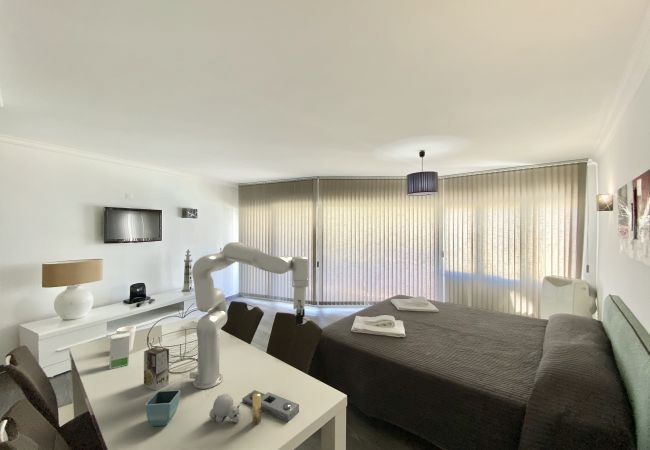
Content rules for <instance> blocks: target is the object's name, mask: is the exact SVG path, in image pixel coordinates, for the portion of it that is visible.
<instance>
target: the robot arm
mask: <svg viewBox="0 0 650 450" xmlns="http://www.w3.org/2000/svg"><path fill="white" fill-rule="evenodd" d="M235 263H240V264H244V265H248V266H252V267H254V268H257V269H260V270H262V271H263V272H268V273H273V274H277V275H284V274H286V273H287V272H290V271H292V272H291V273H292V275H291V284H292V285H291V286H292V288H293V310H296V311H295V324H296V325H303V323H304V318H305V314H306V313H305V307H306V298H307V293H306V292H307V289H306V288H308V287H309V259H308V257H307V256H304V255H303V256H301V255H297V256H291V255H283V256H277V255H273V254H268V253H266V252H263V251H262V250H261V249H260V248H258V247H254V246H249V245H245V244H244V243H243V242H240V241H233V242H228V243H227V244H225V245H224V247H223V248H222V250H221V251H219V252H217V253H211V254H206V255H203V256H201V257H199V258H197V260H195V262H194V263H193V266H192V269H191V275H192V280H193V287H194V295H195V303H196V307H197V309H198V311H199V312H201V313H205V314H204V315H203V316H201V317H200V318H199V319H198V320H197V322H196V325H195V331H196V337H197V371H190V372H189V379H194V380H193V387H195V388H197V389H200V390H205V389H206V390H207V389H211V388H214V387H216V386H218V385H219V384H221V383H222V382H223V380H224V379H223V375H222V374H221V373H220V355H221V354H220V347H221V346H220V337H219V330H221V328H222V327H224V326H225V325H226V323H227V321H228V308H227V303H226V302H227V300H226V297H225V296H226V295H225V293H224V292H223V290H222V289H221V288H218V287H215V285H214V279H213V277H212V275H211V274H212V273H214V272H218V271H221V270H224V269H226V268H228V267H230V266H232V265H233V264H235Z"/></svg>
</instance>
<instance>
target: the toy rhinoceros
mask: <svg viewBox="0 0 650 450" xmlns="http://www.w3.org/2000/svg"><path fill="white" fill-rule="evenodd" d="M240 406H241V405H240V404H238V405H234V398H233V396H232V395H230V394H228V393H222V394H220V395H218V396H217V397H216V398H215V400H214V402H213V405H212V409H210V411H209V414H208V415H209V417H210V418H213V419H214V418H215V422H216V423H222V422H223V420H224V418H226V417H227V418H228V419H229V420H232V422H233V423H238V422H239V421H240V420H241V418H242V414H240V409H239V408H240Z"/></svg>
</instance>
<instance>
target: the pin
mask: <svg viewBox="0 0 650 450" xmlns="http://www.w3.org/2000/svg"><path fill="white" fill-rule="evenodd" d="M260 392H261V391H258V392H256V393H254V394H253V406H252V420H251V421H252V425H255V426H257V425H259V424H261V423H262V420H261V419H262V416H261V415H262V410H261V393H262V392H261V393H260Z"/></svg>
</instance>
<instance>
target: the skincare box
mask: <svg viewBox="0 0 650 450" xmlns="http://www.w3.org/2000/svg"><path fill="white" fill-rule="evenodd" d="M109 343H110V347H109V362H108V363H109V369H110V370H112V369H116V368H122V367H125V365H126V366H129V365H128V364H129V361H130V351H129V343H130V334H129V333H124V334H118V335H117V334H113V335H110V342H109ZM121 366H122V367H121Z"/></svg>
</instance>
